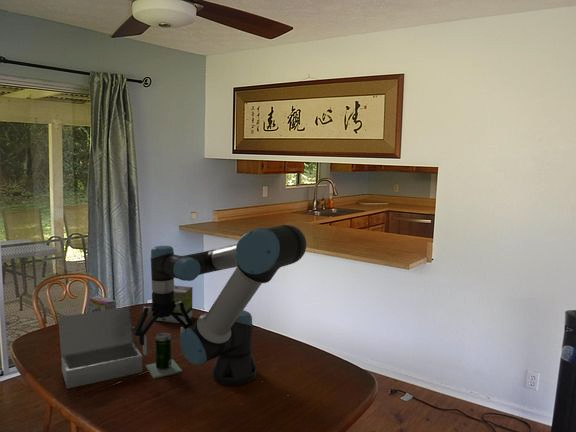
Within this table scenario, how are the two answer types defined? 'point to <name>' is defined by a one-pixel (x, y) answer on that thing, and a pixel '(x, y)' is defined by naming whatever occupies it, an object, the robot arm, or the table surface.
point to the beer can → (163, 351)
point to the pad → (158, 373)
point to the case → (98, 334)
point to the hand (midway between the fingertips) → (164, 349)
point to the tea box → (186, 297)
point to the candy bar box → (101, 304)
